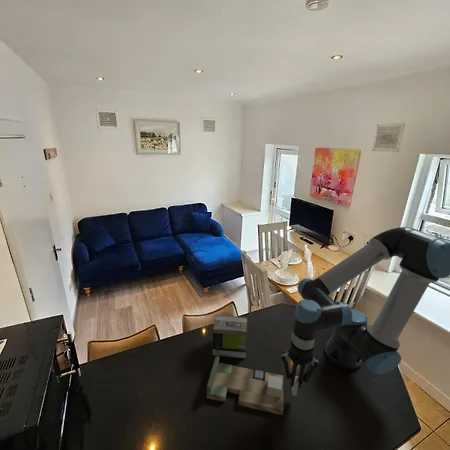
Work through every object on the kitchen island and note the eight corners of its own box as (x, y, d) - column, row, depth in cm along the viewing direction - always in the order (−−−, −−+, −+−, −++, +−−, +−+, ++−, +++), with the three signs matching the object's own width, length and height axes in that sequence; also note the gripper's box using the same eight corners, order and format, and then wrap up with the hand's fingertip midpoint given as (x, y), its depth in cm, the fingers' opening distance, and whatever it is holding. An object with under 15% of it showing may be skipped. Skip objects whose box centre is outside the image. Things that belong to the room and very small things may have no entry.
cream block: (280, 385, 98) (281, 377, 97) (280, 397, 94) (281, 389, 93) (267, 382, 99) (268, 375, 98) (266, 394, 95) (267, 386, 93)
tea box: (246, 341, 122) (247, 316, 117) (245, 359, 113) (247, 332, 108) (215, 338, 123) (215, 313, 118) (212, 355, 114) (212, 329, 109)
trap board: (282, 380, 103) (284, 369, 101) (282, 415, 90) (284, 403, 88) (215, 366, 108) (215, 355, 106) (206, 397, 95) (206, 386, 93)
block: (262, 377, 104) (263, 371, 103) (262, 384, 101) (262, 378, 100) (255, 375, 105) (255, 369, 104) (254, 382, 102) (254, 376, 101)
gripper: (320, 337, 89) (311, 386, 97) (283, 331, 92) (276, 379, 99) (324, 354, 82) (313, 405, 90) (283, 347, 85) (276, 397, 93)
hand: (294, 391), depth 95 cm, fingers closed
